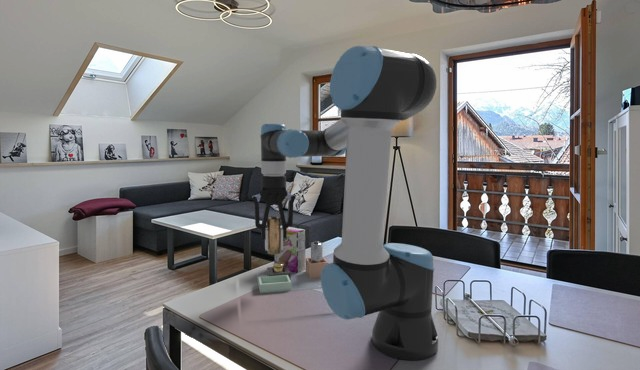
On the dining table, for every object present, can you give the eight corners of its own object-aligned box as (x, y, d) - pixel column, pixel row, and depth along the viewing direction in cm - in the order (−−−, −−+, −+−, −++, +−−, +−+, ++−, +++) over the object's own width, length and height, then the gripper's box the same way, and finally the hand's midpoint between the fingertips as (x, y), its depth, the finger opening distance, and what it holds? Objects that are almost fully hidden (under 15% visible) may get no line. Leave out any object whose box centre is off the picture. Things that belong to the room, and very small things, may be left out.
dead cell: (323, 275, 129) (323, 242, 128) (312, 276, 128) (312, 243, 127) (320, 271, 133) (320, 239, 132) (309, 272, 132) (309, 240, 131)
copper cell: (279, 250, 120) (279, 214, 119) (281, 254, 116) (281, 217, 115) (266, 251, 119) (266, 215, 118) (268, 254, 115) (268, 217, 114)
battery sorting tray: (336, 289, 120) (336, 271, 119) (260, 296, 114) (260, 277, 113) (323, 272, 135) (323, 256, 134) (256, 278, 129) (256, 261, 129)
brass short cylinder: (284, 278, 125) (284, 265, 124) (273, 279, 124) (273, 266, 123) (283, 274, 128) (283, 262, 128) (272, 275, 127) (272, 262, 127)
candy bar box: (273, 271, 138) (272, 227, 136) (281, 267, 142) (281, 225, 140) (297, 277, 131) (297, 231, 130) (305, 273, 136) (306, 228, 134)
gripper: (298, 173, 120) (298, 244, 123) (244, 174, 116) (245, 247, 119) (303, 175, 113) (302, 250, 116) (245, 176, 109) (247, 254, 112)
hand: (274, 248), depth 117 cm, fingers closed on copper cell, 4 cm apart
